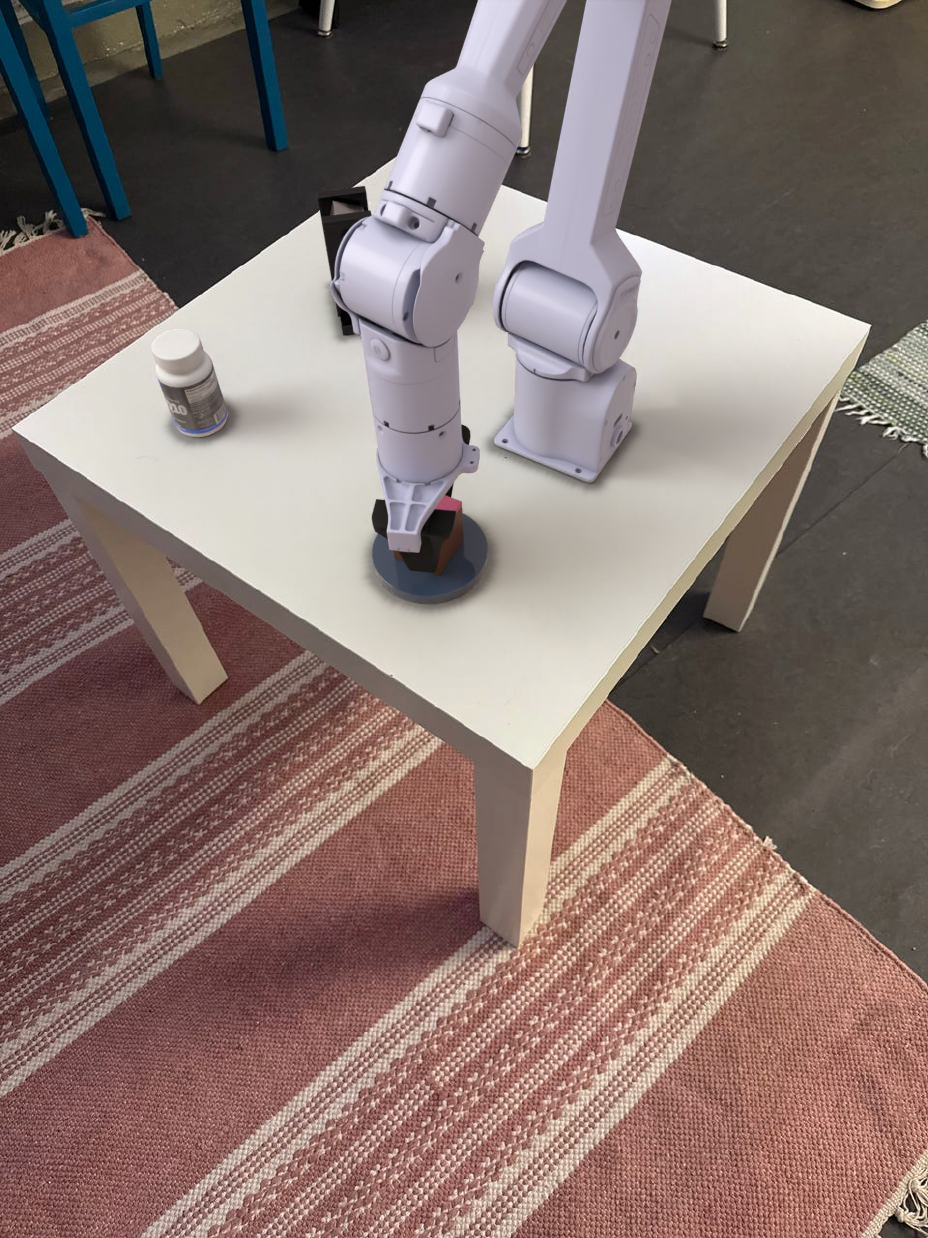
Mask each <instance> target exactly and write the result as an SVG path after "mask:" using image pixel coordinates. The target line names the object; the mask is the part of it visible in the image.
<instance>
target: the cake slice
mask: <svg viewBox="0 0 928 1238" xmlns="http://www.w3.org/2000/svg"><path fill="white" fill-rule="evenodd" d="M435 509H441V510H452V511H456V516H455V522H454V527H453V530H452V532H451V534H450V536H449V538H448V539H447V540H445V542H444V543H443V544H442V546H441V552H440V557H439V562H438V566H437V569H436V571H435V572H434V573H432V574H435V575H437V576H440V575H441V573H442V572H443V570H444V569H445V567H446V566H447V564H448V563H449V561H450V560H451V558H452V557H453V555H454V554H455V552H456V551H457V549H458V548H459V546H460V545H461V543H462V542H463V540H464V536H463V514H464V513H463V501H461V500H459V499H456V498H454V497H452V496H451V497H448V496H446V495H444V497H443V498H442V500H441V501H440V502H439V504H438V505H437V507H436V508H435ZM462 513H463V514H462ZM393 553H394V558H395V559H398V560H400V561H403V559H402V557H401V556H400V554H399V552H398V551H395V550H393ZM403 562H404V561H403Z"/></svg>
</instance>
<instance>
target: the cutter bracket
mask: <svg viewBox="0 0 928 1238" xmlns="http://www.w3.org/2000/svg"><path fill="white" fill-rule="evenodd" d="M316 197H317V203H318V210H319V215H320V220H321V226H322V232H323V233H322V234H323V237H324V238H323V239H324V244H325V250H326V256H327V263H328V268H329V274H330V282H332V281H333V280H334V277H335V261H336V256H337V253H338V250H339V247H340V244H341V242H342V240H343V238H344V237H345V235H346V233H347V232H348V231H349V229H350V228H351V227H352V226H353V225H354V224H355V223H356V222H358V221H359V220H361V219H363V218H366V217H370V216H371V215H373V214H372V211H371V210H370V209H369V203H368V195H367V188H366V186H365V185H360V186H359V185H358V186H352V187H351V186H350V187H345V188H337V189H330V190H322V191H317V192H316ZM333 201H336V202H341V203H346V204H352V205H357V206H362V207H363V210H364V211H361V212H353V213H346V214H338V215H331V216H330V211H331V206H332V202H333ZM334 303H335V309H336V315H337V317H338V318H339V320H340V325H341V326H340V327H341V331H342V335H343V336H348V335H349V336H350V335H356V334H355V333H354V331H353V325H352V319H351V317H350V315H349V313H348V312H347V311H345V310H343V309H342V308H340V307H339V306H338V304H337V303H336V302H335V301H334Z"/></svg>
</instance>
